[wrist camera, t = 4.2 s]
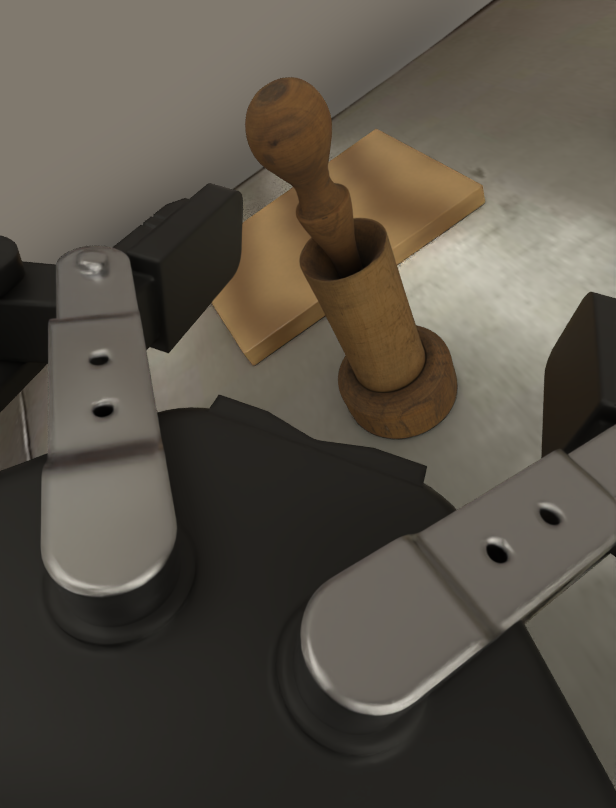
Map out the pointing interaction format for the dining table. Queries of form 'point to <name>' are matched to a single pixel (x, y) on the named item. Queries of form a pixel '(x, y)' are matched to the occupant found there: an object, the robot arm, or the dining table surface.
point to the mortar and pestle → (352, 273)
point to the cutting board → (371, 198)
